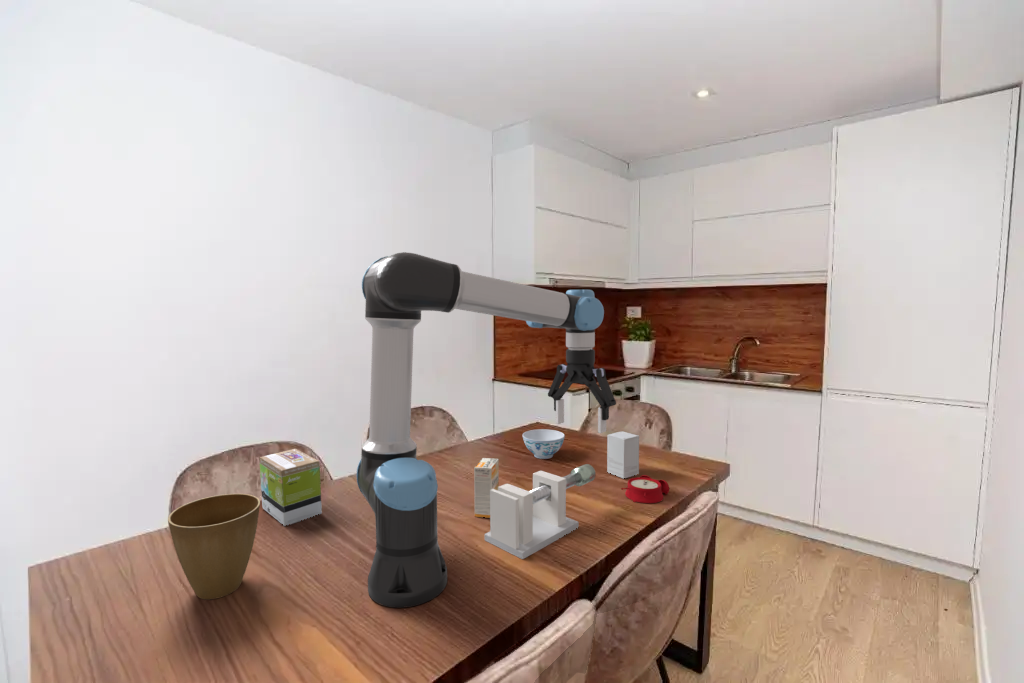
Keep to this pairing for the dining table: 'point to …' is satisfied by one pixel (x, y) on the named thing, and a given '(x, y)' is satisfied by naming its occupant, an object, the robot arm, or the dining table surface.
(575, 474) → the shaft
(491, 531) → the housing
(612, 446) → the supplement box
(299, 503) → the tea box
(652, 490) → the alarm clock
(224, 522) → the plant pot
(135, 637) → the dining table surface
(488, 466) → the supplement box
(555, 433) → the chinaware
